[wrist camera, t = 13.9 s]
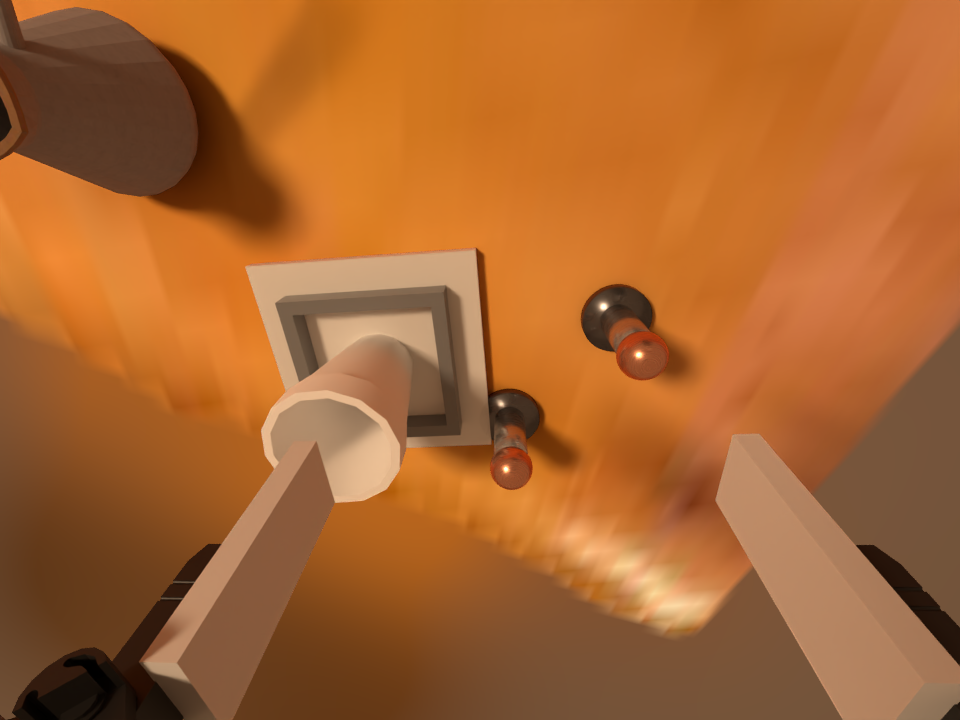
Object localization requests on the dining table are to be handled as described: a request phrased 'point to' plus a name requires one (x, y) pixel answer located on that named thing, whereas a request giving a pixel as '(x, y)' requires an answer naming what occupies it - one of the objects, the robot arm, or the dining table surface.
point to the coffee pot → (93, 101)
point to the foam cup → (349, 416)
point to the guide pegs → (607, 325)
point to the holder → (388, 329)
